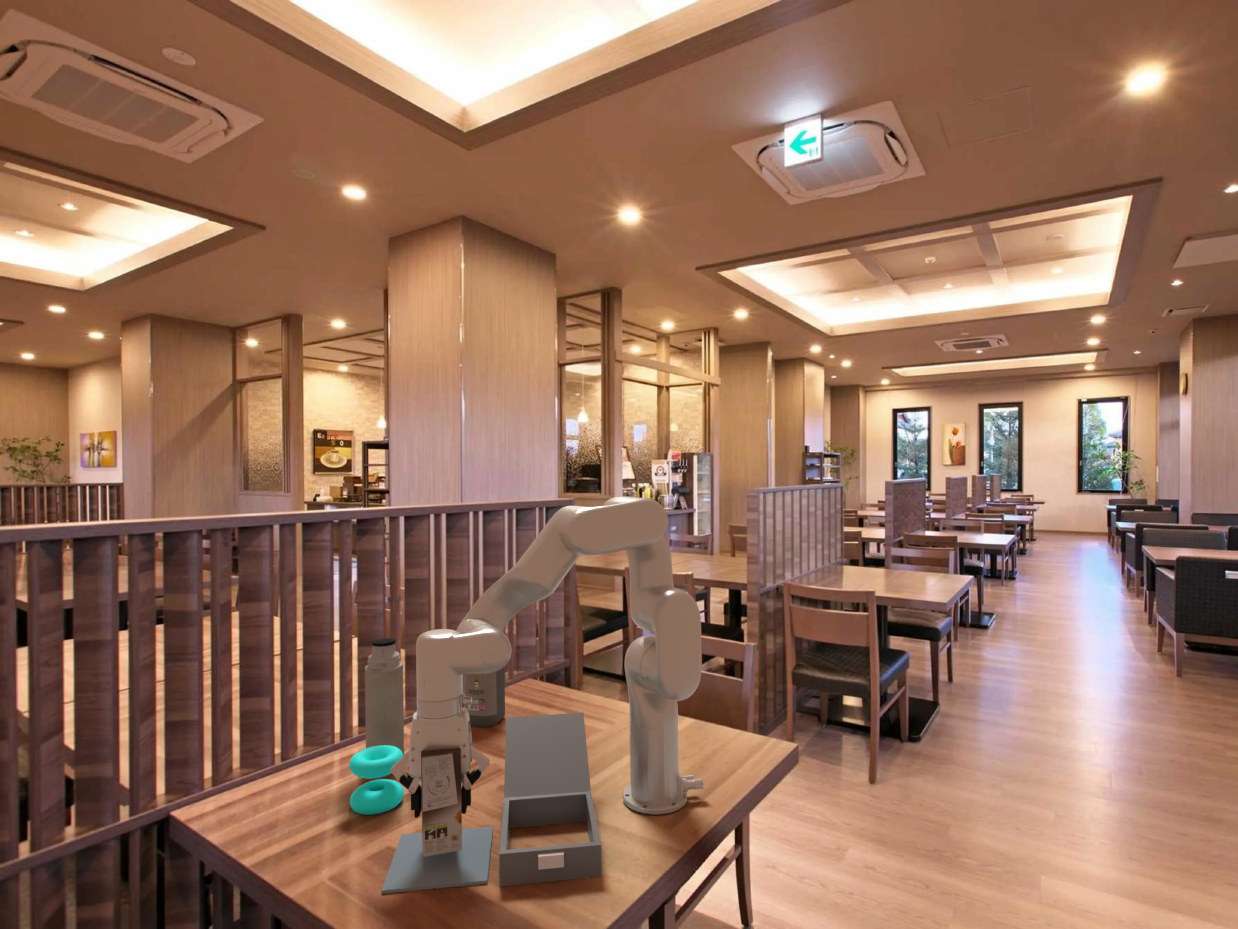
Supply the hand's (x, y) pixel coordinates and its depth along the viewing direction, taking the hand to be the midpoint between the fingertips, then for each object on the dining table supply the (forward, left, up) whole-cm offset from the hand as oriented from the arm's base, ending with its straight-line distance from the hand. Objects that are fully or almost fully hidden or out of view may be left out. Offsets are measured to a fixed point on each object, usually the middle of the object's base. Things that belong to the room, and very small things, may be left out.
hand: (441, 811), depth 112 cm
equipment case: (-18, 0, -8) cm, 20 cm away
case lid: (-18, -17, +1) cm, 25 cm away
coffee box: (0, 0, -5) cm, 5 cm away
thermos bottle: (+17, -38, -8) cm, 42 cm away
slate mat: (0, 0, -8) cm, 8 cm away
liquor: (-3, -62, -8) cm, 63 cm away
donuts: (+15, -21, -8) cm, 27 cm away
